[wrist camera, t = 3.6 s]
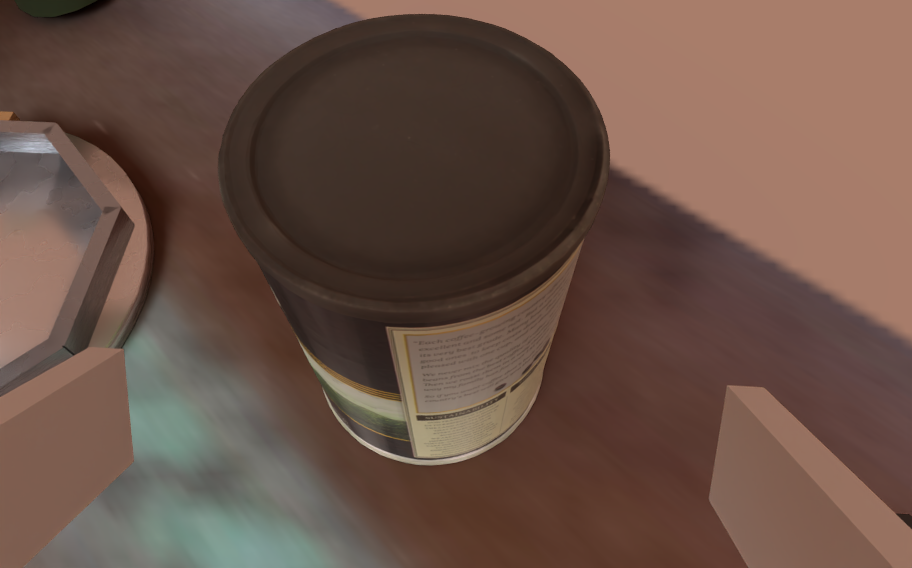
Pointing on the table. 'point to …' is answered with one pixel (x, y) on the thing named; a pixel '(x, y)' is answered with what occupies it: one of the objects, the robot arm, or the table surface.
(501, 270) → the coffee can
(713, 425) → the table surface
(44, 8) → the character mug
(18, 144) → the locking base
